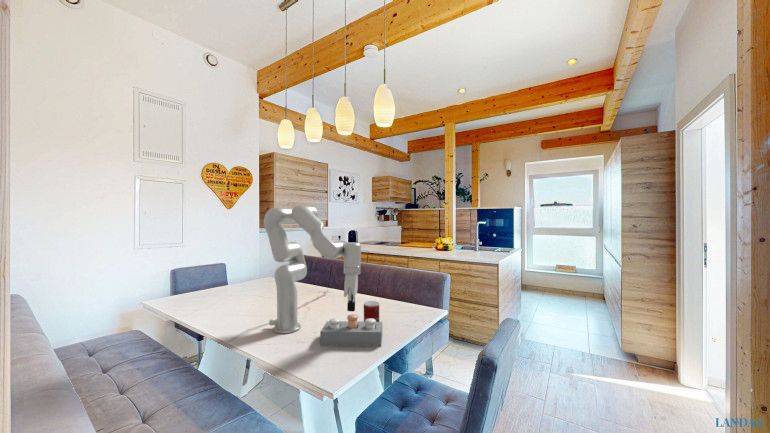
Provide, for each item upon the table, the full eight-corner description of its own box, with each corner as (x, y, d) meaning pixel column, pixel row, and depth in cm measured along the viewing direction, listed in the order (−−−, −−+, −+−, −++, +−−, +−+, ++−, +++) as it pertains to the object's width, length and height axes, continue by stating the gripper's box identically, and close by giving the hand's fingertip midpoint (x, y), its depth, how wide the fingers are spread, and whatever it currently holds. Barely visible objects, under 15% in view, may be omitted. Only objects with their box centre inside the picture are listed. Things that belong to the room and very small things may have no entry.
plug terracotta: (346, 336, 128) (346, 317, 128) (348, 331, 132) (348, 314, 132) (357, 336, 128) (356, 318, 127) (358, 332, 132) (358, 314, 132)
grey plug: (364, 340, 127) (364, 322, 127) (365, 336, 132) (365, 318, 132) (375, 340, 127) (375, 322, 127) (376, 336, 132) (375, 318, 132)
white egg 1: (328, 340, 128) (328, 321, 128) (330, 335, 133) (330, 318, 133) (339, 340, 128) (338, 322, 128) (340, 335, 132) (340, 318, 132)
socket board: (320, 345, 124) (320, 331, 124) (326, 334, 136) (326, 321, 136) (381, 346, 123) (381, 332, 123) (382, 334, 135) (382, 321, 135)
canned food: (377, 328, 143) (377, 306, 143) (361, 327, 145) (361, 305, 145) (380, 322, 151) (380, 301, 151) (366, 321, 152) (365, 300, 152)
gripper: (346, 266, 138) (345, 305, 139) (340, 273, 123) (339, 316, 124) (362, 267, 138) (361, 305, 138) (358, 273, 123) (357, 317, 123)
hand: (351, 310), depth 131 cm, fingers closed
